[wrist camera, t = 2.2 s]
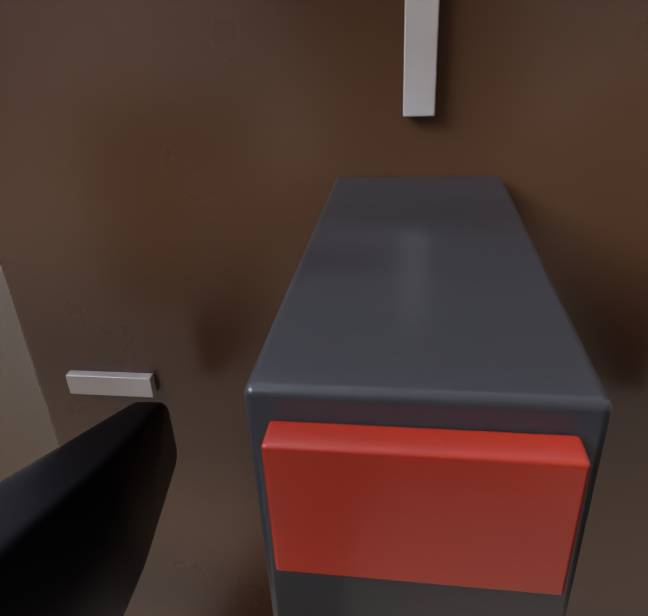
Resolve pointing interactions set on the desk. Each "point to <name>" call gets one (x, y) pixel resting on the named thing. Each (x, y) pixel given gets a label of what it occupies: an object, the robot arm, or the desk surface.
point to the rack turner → (423, 412)
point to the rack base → (305, 221)
